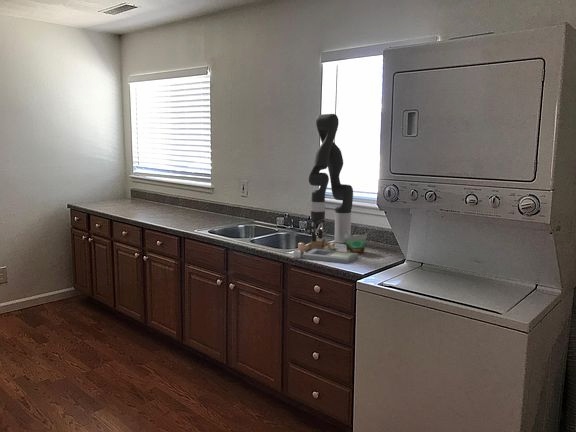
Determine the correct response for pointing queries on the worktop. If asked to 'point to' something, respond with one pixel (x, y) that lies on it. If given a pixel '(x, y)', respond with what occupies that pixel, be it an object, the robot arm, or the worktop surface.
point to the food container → (355, 243)
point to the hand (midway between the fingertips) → (317, 240)
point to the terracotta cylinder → (301, 247)
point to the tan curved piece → (327, 247)
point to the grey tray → (330, 255)
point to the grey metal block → (297, 253)
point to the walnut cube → (318, 244)
